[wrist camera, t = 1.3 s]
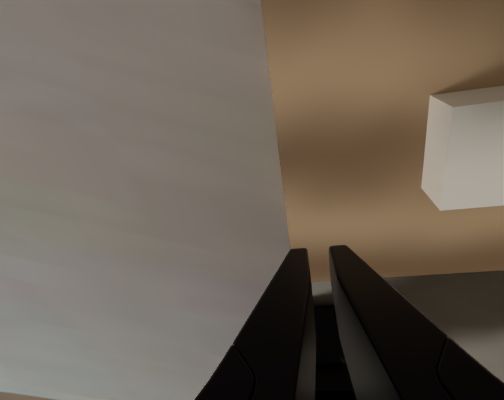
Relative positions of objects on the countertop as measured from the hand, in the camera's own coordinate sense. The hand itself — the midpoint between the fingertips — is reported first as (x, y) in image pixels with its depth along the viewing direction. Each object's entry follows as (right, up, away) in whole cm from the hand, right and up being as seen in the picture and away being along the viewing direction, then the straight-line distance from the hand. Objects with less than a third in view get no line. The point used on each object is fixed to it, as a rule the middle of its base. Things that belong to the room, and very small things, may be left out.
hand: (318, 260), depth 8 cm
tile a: (+7, +4, +5) cm, 10 cm away
